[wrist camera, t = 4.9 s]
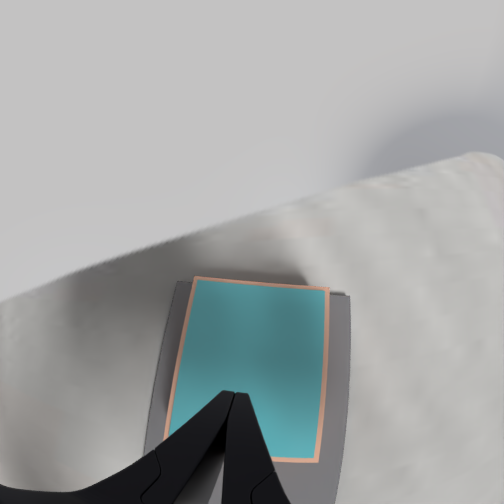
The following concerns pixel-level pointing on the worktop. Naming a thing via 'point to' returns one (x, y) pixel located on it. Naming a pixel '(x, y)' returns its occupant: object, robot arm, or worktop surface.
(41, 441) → the worktop surface
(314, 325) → the pink and teal block
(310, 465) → the mat
